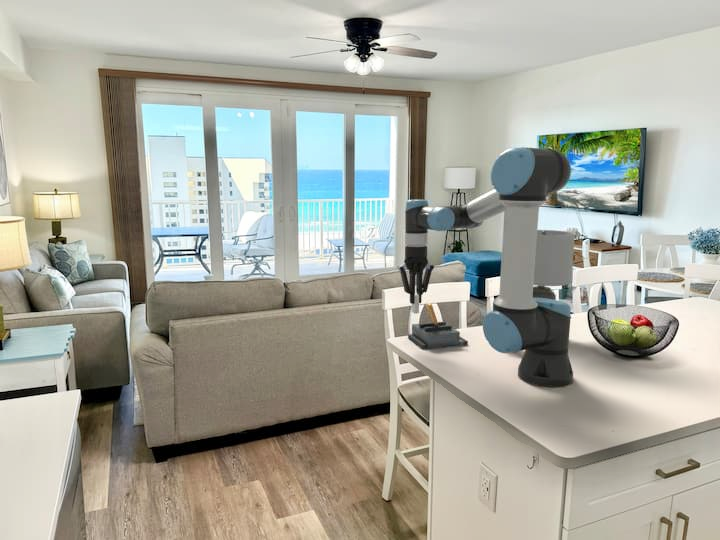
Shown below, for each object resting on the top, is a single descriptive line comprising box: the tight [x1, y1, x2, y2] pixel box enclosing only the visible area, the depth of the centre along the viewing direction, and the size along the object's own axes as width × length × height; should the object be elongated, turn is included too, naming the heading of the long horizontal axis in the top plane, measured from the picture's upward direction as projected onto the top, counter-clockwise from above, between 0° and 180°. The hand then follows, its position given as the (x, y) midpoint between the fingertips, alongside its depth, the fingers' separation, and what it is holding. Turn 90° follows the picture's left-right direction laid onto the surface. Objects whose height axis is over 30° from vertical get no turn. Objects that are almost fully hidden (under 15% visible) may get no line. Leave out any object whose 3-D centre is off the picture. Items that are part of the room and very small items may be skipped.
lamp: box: [532, 229, 576, 300], centre depth 190 cm, size 20×20×39 cm
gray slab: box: [458, 336, 469, 347], centre depth 188 cm, size 14×3×1 cm, turn 17°
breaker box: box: [411, 321, 461, 350], centre depth 186 cm, size 14×12×6 cm
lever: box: [425, 302, 439, 326], centre depth 184 cm, size 3×1×9 cm, turn 16°
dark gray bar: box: [407, 333, 427, 350], centre depth 184 cm, size 13×1×1 cm, turn 17°
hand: (415, 312), depth 182 cm, fingers closed
